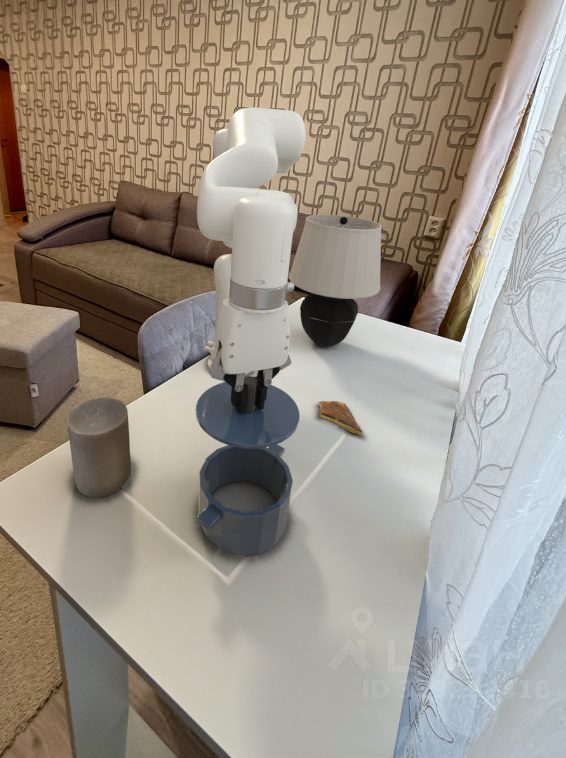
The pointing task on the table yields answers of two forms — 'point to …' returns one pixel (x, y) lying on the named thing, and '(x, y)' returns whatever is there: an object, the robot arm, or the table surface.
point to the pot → (234, 526)
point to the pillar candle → (99, 446)
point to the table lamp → (335, 273)
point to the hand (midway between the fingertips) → (248, 405)
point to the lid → (247, 416)
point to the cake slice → (339, 415)
